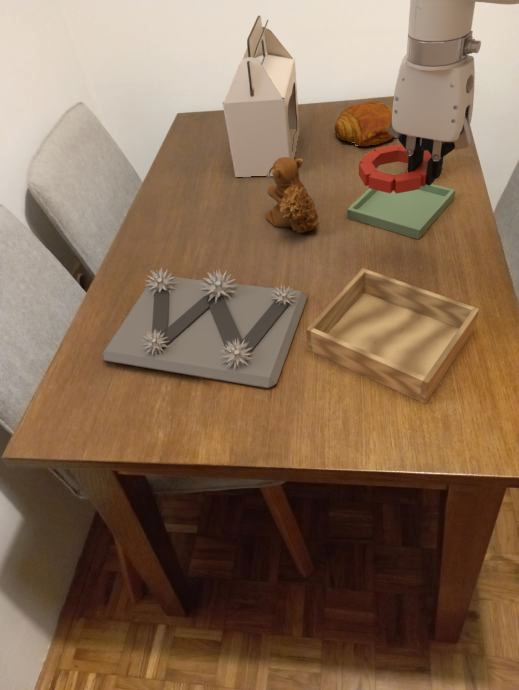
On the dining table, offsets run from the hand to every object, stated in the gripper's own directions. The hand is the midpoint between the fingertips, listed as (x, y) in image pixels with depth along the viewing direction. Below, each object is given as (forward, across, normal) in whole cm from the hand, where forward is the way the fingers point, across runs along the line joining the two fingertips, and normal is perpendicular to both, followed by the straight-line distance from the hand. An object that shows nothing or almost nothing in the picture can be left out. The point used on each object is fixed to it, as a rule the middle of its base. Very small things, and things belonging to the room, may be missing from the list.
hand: (423, 178), depth 80 cm
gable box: (+18, +50, -25) cm, 58 cm away
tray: (+18, +11, -17) cm, 27 cm away
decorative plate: (+18, +23, +30) cm, 42 cm away
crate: (+18, -4, +18) cm, 26 cm away
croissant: (+18, +32, -42) cm, 56 cm away
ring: (0, +4, 0) cm, 5 cm away
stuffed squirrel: (+18, +27, -3) cm, 33 cm away
